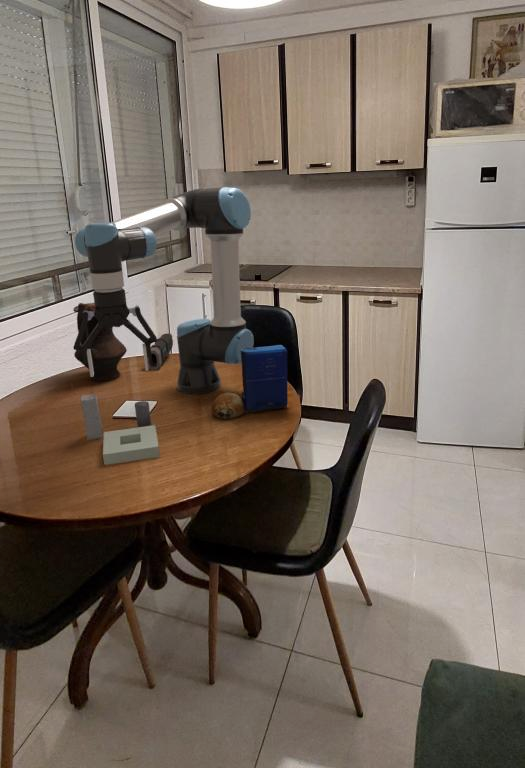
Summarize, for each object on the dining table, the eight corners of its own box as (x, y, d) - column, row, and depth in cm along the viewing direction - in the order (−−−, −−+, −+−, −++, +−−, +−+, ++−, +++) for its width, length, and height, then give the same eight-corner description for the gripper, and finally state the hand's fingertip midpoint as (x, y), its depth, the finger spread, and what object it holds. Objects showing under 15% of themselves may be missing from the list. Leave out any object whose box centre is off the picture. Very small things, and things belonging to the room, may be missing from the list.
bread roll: (248, 424, 169) (254, 399, 169) (226, 420, 161) (233, 394, 161) (224, 416, 175) (231, 392, 175) (202, 412, 167) (209, 387, 167)
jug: (91, 368, 217) (79, 292, 207) (136, 368, 215) (126, 291, 204) (66, 388, 198) (51, 305, 187) (116, 388, 195) (103, 304, 185)
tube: (180, 354, 240) (164, 368, 210) (166, 358, 240) (148, 373, 211) (173, 330, 237) (155, 341, 208) (158, 334, 238) (139, 346, 209)
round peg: (151, 425, 164) (148, 400, 161) (152, 431, 160) (149, 405, 157) (137, 427, 163) (134, 402, 160) (138, 433, 159) (134, 407, 156)
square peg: (102, 432, 161) (96, 393, 157) (102, 438, 157) (95, 398, 153) (88, 434, 160) (81, 395, 156) (87, 440, 156) (80, 400, 152)
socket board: (156, 434, 157) (155, 425, 156) (159, 456, 145) (158, 446, 144) (105, 441, 155) (104, 432, 153) (104, 465, 142) (102, 454, 141)
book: (243, 415, 167) (241, 351, 160) (239, 408, 172) (237, 346, 165) (289, 409, 170) (288, 346, 163) (284, 403, 175) (283, 342, 168)
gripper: (159, 282, 141) (167, 362, 148) (56, 290, 135) (70, 373, 142) (161, 287, 134) (170, 371, 141) (53, 296, 128) (67, 382, 136)
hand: (119, 372), depth 142 cm, fingers open, 13 cm apart
